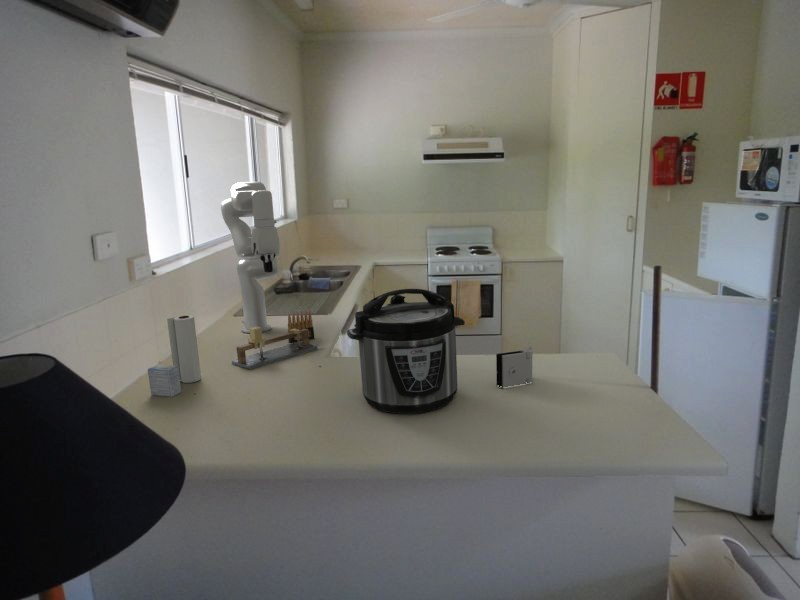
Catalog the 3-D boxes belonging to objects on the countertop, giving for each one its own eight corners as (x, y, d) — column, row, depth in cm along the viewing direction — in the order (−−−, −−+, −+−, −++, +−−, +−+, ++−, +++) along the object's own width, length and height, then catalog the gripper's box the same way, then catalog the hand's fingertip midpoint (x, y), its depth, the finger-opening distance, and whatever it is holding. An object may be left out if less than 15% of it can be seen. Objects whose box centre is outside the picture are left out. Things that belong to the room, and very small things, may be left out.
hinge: (529, 376, 177) (530, 345, 175) (542, 381, 172) (542, 349, 170) (494, 386, 170) (494, 353, 168) (506, 391, 165) (506, 358, 163)
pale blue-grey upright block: (181, 392, 176) (178, 365, 175) (171, 397, 172) (168, 370, 171) (161, 390, 179) (157, 364, 177) (150, 395, 175) (146, 368, 173)
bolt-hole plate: (232, 363, 203) (231, 360, 203) (299, 344, 225) (299, 341, 224) (249, 369, 196) (249, 366, 196) (317, 348, 217) (317, 345, 217)
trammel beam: (238, 362, 200) (236, 343, 199) (306, 343, 222) (304, 326, 220) (244, 364, 198) (242, 345, 196) (312, 344, 219) (311, 327, 218)
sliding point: (249, 357, 205) (246, 328, 203) (259, 354, 208) (256, 325, 205) (257, 359, 201) (255, 330, 199) (267, 356, 204) (264, 327, 202)
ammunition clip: (312, 337, 234) (310, 309, 232) (314, 338, 232) (312, 309, 230) (288, 342, 228) (285, 313, 226) (290, 343, 227) (287, 314, 224)
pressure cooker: (340, 414, 154) (332, 298, 148) (376, 379, 180) (371, 280, 174) (449, 424, 145) (446, 301, 138) (470, 385, 171) (468, 281, 165)
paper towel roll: (205, 378, 189) (197, 315, 185) (191, 384, 183) (183, 319, 179) (188, 376, 192) (181, 314, 188) (175, 382, 186) (166, 318, 182)
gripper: (274, 222, 224) (278, 268, 228) (241, 225, 213) (246, 274, 217) (286, 222, 219) (290, 270, 223) (252, 225, 208) (257, 275, 212)
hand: (268, 271), depth 220 cm, fingers closed
